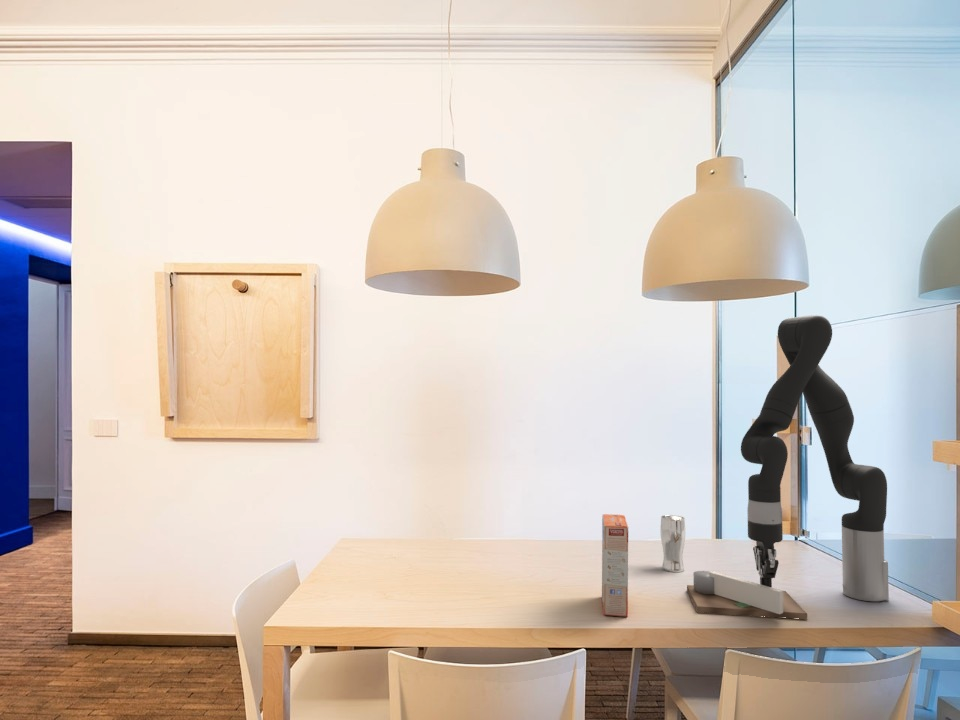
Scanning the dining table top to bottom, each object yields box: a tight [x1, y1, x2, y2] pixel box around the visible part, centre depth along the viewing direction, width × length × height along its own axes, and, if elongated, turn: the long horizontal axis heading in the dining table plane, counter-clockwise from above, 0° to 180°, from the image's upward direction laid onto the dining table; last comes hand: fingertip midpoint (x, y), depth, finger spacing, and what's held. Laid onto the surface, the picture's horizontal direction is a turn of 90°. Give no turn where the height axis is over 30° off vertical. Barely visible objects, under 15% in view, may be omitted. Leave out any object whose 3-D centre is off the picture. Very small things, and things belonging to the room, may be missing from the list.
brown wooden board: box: [686, 584, 808, 620], centre depth 152 cm, size 24×16×2 cm, turn 80°
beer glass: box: [659, 514, 686, 573], centre depth 182 cm, size 7×7×15 cm
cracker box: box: [601, 513, 629, 618], centre depth 151 cm, size 14×6×21 cm, turn 170°
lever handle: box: [693, 570, 784, 614], centre depth 151 cm, size 22×6×5 cm, turn 35°
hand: (766, 593), depth 147 cm, fingers closed
